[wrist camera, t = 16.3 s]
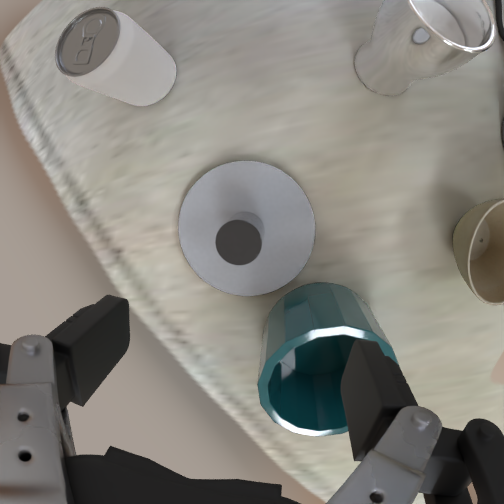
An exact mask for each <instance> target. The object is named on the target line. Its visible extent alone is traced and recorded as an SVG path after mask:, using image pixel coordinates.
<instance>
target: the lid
mask: <svg viewBox="0 0 504 504" xmlns="http://www.w3.org/2000/svg"><path fill="white" fill-rule="evenodd" d="M178 233H179V240H180V244H181V248H182V251H183V253H184V256H185V258H186V259H187V261H188V263H189V265H190V266H191V267H192V269H193V270H194V271H195V272H196V273H197V275H198V276H199V277H201V278H202V279H203V280H204V281H205V282H207V283H208V284H210V285H211V286H213V287H214V288H216V289H218V290H220V291H223V292H226V293H229V294H234V295H239V296H256V295H263V294H266V293H270V292H273V291H275V290H277V289H279V288H281V287H283V286H284V285H286V284H287V283H289V282H290V281H291V280H293V279H294V278H295V277H296V276H297V275H298V274H299V273H300V271H301V270H302V269H303V267H304V266H305V264H306V262H307V261H308V259H309V257H310V254H311V252H312V249H313V245H314V240H315V220H314V214H313V211H312V207H311V205H310V202H309V200H308V198H307V196H306V195H305V193H304V191H303V190H302V189H301V187H300V186H299V185H298V184H297V183H296V182H295V181H294V180H293V179H292V178H291V177H290V176H289V175H287V174H286V173H284V172H283V171H281V170H280V169H278V168H276V167H274V166H271V165H268V164H265V163H261V162H256V161H235V162H230V163H226V164H223V165H220V166H218V167H216V168H214V169H212V170H210V171H209V172H207V173H206V174H204V175H203V176H202V177H201V178H200V179H199V180H197V181H196V183H195V184H194V185H193V186H192V187H191V189H190V190H189V192H188V193H187V195H186V197H185V199H184V201H183V204H182V207H181V210H180V214H179V221H178Z"/></svg>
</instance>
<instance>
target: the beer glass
mask: <svg viewBox="0 0 504 504" xmlns="http://www.w3.org/2000/svg"><path fill="white" fill-rule="evenodd" d="M495 35H496V26H495V21H494V17H493V15H492V12H491V10H490V8H489V6H488V4H487V2H486V1H485V0H384V1H383V3H382V5H381V6H380V8H379V10H378V13H377V16H376V19H375V22H374V27H373V31H372V36H371V40H369V41H368V42H366V43H365V44H363V45H362V46H361V47H360V48H359V49H358V51H357V53H356V55H355V69H356V72H357V75H358V77H359V78H360V80H361V81H362V82H363V84H364V85H365V86H366V87H368V88H369V89H370V90H372V91H373V92H375V93H378V94H380V95H384V96H395V95H399V94H401V93H403V92H404V91H406V90H407V89H408V87H409V86H410V85H411V83H412V82H413V81H415V80H421V79H427V78H433V77H437V76H440V75H444V74H447V73H449V72H451V71H453V70H456V69H457V68H459V67H461V66H463V65H464V64H466V63H468V62H469V61H470V60H472V59H473V58H475V57H476V56H477V55H479V54H480V53H481V52H483V51H485V50H487V49H488V48H490V47H491V45H492V44H493V42H494V40H495Z"/></svg>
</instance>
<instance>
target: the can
mask: <svg viewBox="0 0 504 504" xmlns="http://www.w3.org/2000/svg"><path fill="white" fill-rule="evenodd" d="M55 60H56V64H57V67H58V69H59V70H60V71H61V72H62V73H63V74H65V75H66V76H67V78H68V79H69V80H70V81H71V82H73V83H75V84H77V85H79V86H82V87H84V88H87V89H90V90H93V91H95V92H98V93H101V94H104V95H107V96H109V97H112V98H115V99H118V100H120V101H123V102H126V103H128V104H131V105H135V106H148V105H151V104H154V103H156V102H158V101H159V100H161V99H162V98H163V97H165V96H166V95H167V93H168V92H169V91H170V90H171V88H172V86H173V84H174V82H175V78H176V65H175V62H174V60H173V58H172V57H171V55H170V54H169V53H168V52H167V51H166V50H165V49H164V48H163V47H162V46H161V45H160V44H158V43H157V42H156V41H155V40H154V39H153V38H152V37H151V36H150V35H149V34H148V33H147V32H146V31H145V30H143V29H142V28H141V27H140V26H139V25H138V24H137V23H136V22H135V21H133V20H132V19H131V18H130V17H129V16H127V15H126V14H124V13H122V12H120V11H115V10H111V9H109V8H105V7H96V8H92V9H89V10H87V11H85V12H83V13H81V14H79V15H78V16H77V17H75V18H74V19H73V20H72V21H71V22H70V23H69V24H68V25H67V27H66V28H65V29H64V31H63V32H62V34H61V36H60V38H59V40H58V43H57V46H56V51H55Z"/></svg>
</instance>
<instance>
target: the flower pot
mask: <svg viewBox="0 0 504 504" xmlns="http://www.w3.org/2000/svg"><path fill="white" fill-rule="evenodd" d="M480 239H482V240H480ZM453 250H454V255H455V259H456V262H457V265H458V268H459V270H460V272H461V275H462V276H463V278H464V280H465V282H466V283H467V285H468V286H469V288H470V289H471V290H472V292H473V293H474V294H475V295H476V296H477V297H478V298H479V299H480V300H481V301H483V302H484V303H486V304H490V305H501V304H504V198H503V199H495V200H491V201H487V202H484V203H482V204H480V205H478V206H476V207H474V208H472V209H471V210H469V211H468V212H467V213H466V214H465V215H464V216H463V217H462V218H461V219H460V220H459V222H458V224H457V225H456V228H455V230H454V235H453Z"/></svg>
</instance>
